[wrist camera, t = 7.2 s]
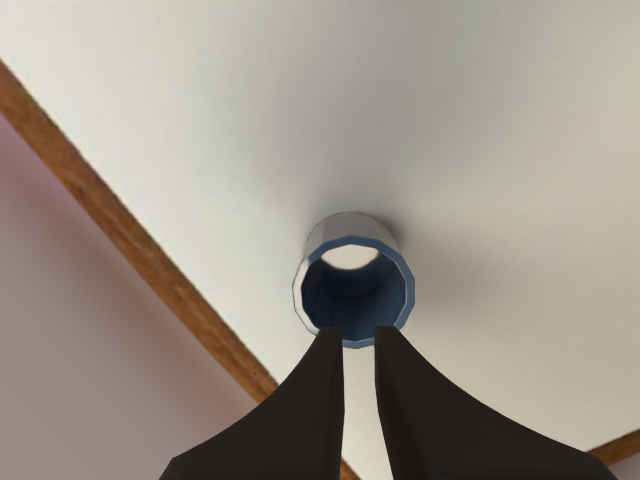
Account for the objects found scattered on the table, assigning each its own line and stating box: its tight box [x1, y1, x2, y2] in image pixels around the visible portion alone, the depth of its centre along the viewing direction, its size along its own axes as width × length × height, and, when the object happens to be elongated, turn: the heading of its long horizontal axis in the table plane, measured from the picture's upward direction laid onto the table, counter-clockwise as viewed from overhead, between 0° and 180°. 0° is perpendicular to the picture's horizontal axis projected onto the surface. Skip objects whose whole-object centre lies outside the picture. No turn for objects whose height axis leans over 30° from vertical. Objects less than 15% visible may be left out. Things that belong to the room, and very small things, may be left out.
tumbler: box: [292, 212, 415, 349], centre depth 18 cm, size 5×5×5 cm
